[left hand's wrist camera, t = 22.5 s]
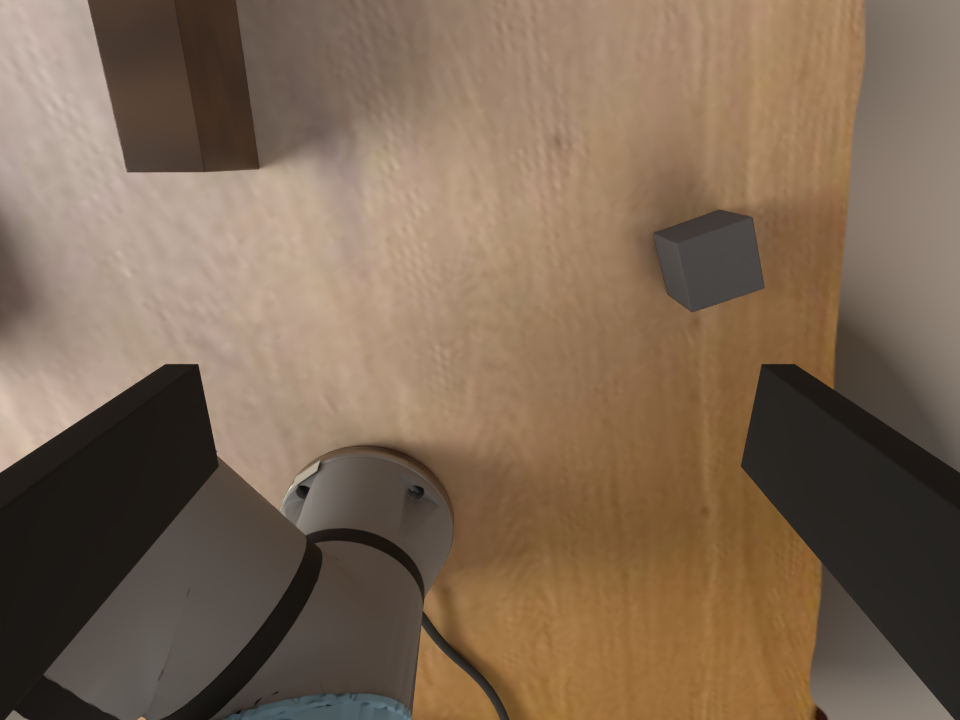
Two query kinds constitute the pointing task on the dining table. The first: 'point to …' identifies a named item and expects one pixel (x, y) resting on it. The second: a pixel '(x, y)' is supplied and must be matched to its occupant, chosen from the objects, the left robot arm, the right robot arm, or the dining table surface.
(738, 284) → the grey block
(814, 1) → the dining table surface
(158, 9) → the plank
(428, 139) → the dining table surface
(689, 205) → the dining table surface
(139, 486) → the left robot arm
